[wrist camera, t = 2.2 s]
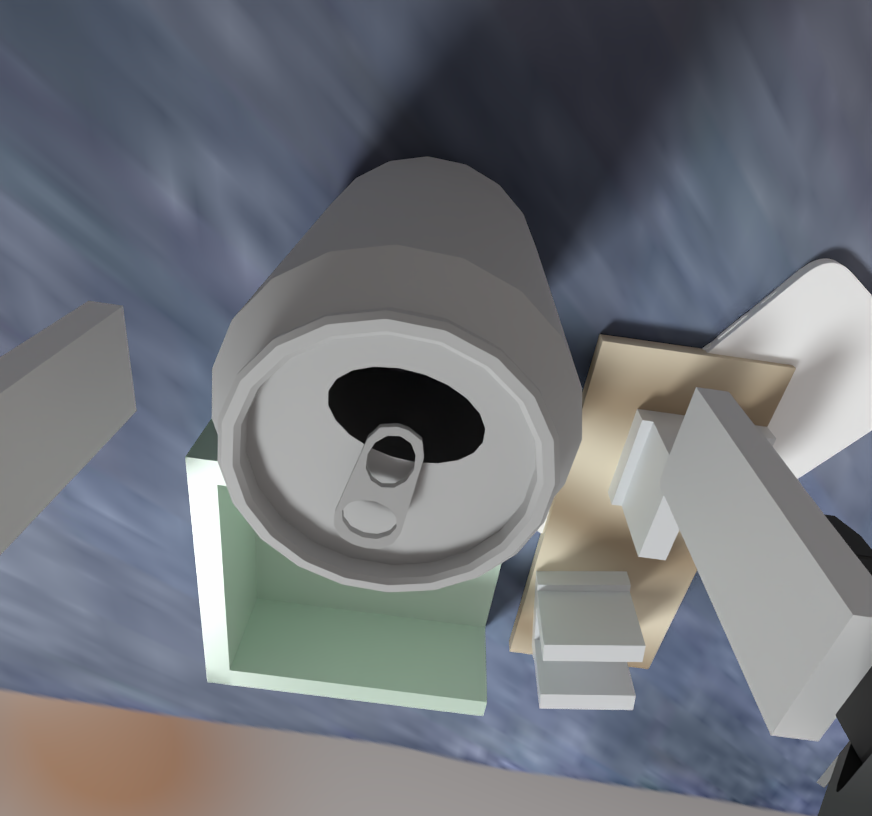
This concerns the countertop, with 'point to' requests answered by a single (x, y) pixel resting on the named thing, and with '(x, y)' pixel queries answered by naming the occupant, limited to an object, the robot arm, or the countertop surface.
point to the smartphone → (812, 360)
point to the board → (597, 460)
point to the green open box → (326, 617)
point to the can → (400, 386)
